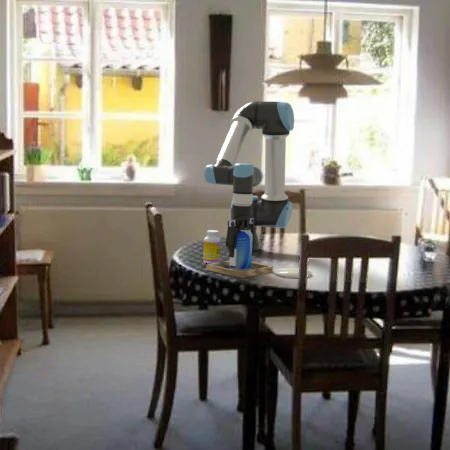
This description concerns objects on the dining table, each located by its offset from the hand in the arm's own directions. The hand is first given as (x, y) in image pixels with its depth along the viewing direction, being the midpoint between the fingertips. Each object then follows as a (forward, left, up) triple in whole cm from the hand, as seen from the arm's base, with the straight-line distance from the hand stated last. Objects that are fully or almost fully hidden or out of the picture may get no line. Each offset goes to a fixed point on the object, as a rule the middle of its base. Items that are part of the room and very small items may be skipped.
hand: (239, 264), depth 302 cm
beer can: (0, 0, -3) cm, 3 cm away
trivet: (-11, +17, -3) cm, 20 cm away
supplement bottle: (-3, -17, -3) cm, 17 cm away
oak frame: (0, 0, -3) cm, 3 cm away
